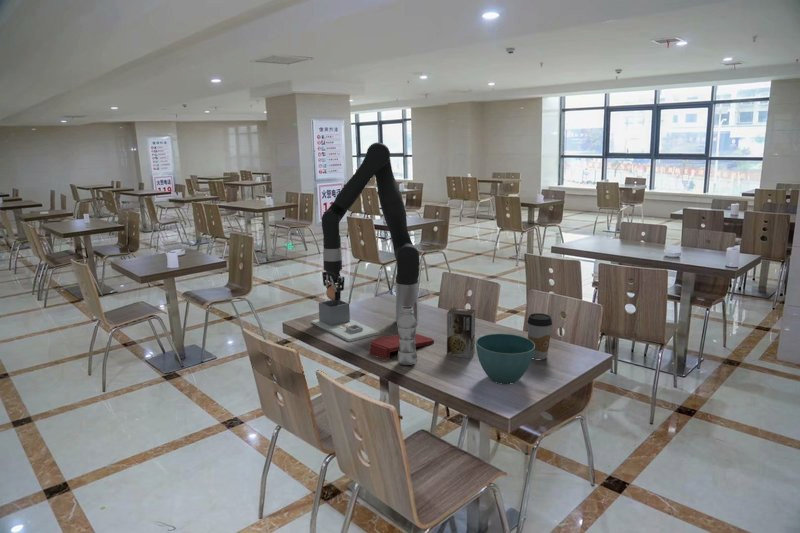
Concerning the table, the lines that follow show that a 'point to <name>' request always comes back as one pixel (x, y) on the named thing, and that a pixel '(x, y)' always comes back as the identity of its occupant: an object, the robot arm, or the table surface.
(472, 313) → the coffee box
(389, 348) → the carton
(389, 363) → the table surface
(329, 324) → the ball rack
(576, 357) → the table surface
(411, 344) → the plastic bottle
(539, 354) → the coffee cup
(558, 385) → the table surface
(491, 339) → the teal bowl
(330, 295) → the ball
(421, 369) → the table surface
